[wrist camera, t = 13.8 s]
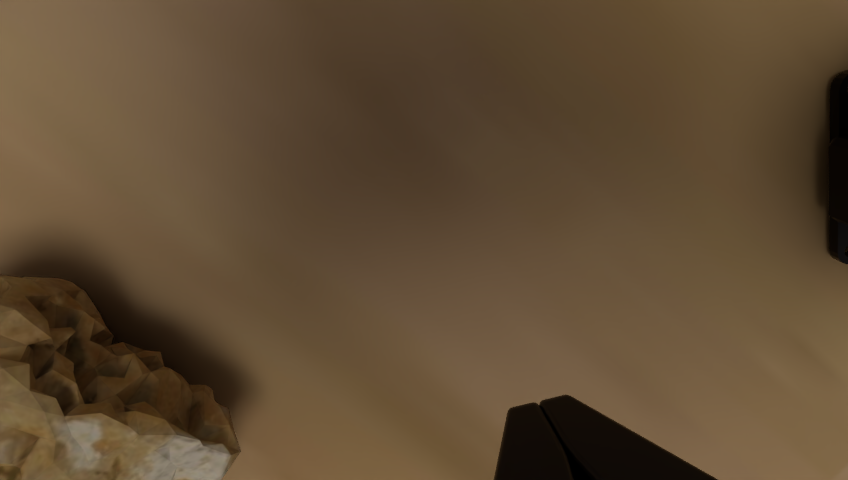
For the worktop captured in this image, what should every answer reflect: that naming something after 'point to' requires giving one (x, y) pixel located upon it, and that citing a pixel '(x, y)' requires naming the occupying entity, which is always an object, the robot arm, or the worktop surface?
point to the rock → (96, 398)
